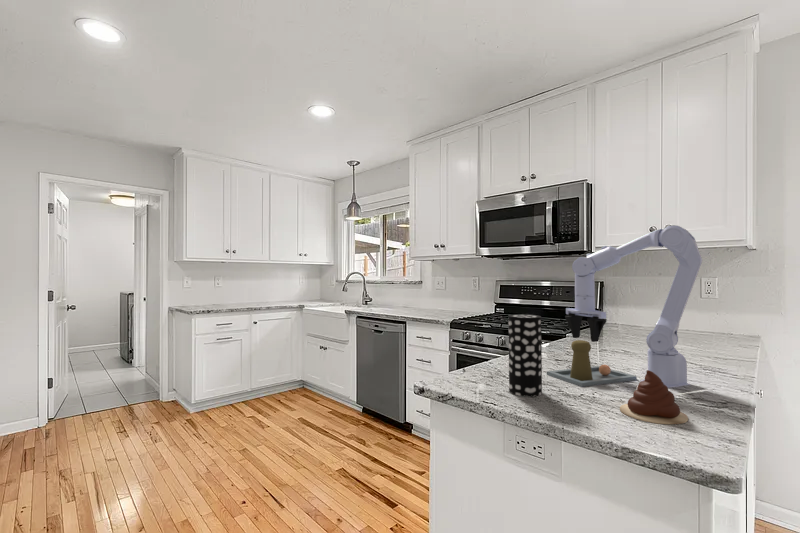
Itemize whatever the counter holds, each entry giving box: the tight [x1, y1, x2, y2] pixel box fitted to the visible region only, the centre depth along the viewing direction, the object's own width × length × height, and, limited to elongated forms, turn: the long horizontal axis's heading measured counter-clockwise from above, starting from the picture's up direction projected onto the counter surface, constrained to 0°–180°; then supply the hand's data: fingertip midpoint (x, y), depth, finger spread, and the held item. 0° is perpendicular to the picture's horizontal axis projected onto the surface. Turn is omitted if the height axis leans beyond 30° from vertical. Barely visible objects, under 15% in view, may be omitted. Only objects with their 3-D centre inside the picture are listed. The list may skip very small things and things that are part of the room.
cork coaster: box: [619, 403, 689, 426], centre depth 92 cm, size 13×13×1 cm
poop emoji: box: [627, 369, 681, 418], centre depth 92 cm, size 10×8×9 cm
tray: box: [546, 365, 638, 388], centre depth 122 cm, size 20×14×2 cm
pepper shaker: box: [570, 339, 593, 381], centre depth 120 cm, size 6×6×11 cm
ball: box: [599, 364, 611, 376], centre depth 124 cm, size 3×3×3 cm
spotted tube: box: [508, 314, 543, 397], centre depth 109 cm, size 8×8×20 cm
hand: (585, 339), depth 129 cm, fingers open, 7 cm apart
